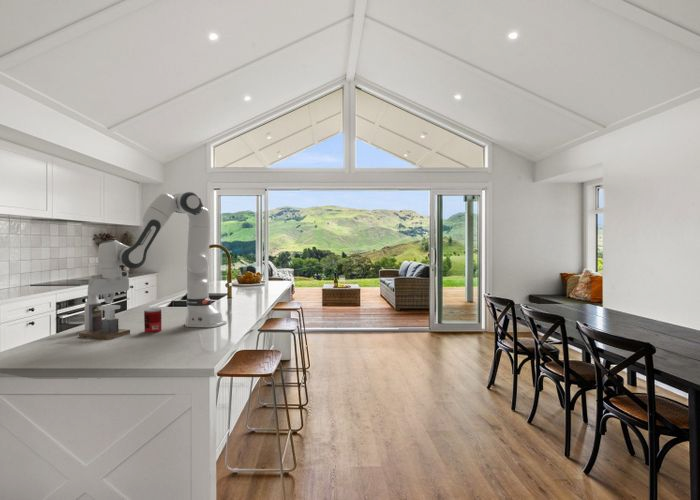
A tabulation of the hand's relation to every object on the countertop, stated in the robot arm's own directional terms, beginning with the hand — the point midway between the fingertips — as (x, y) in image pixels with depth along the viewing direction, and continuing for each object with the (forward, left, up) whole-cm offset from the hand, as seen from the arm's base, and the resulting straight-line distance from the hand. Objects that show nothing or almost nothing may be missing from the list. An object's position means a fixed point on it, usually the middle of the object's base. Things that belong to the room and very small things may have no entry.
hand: (109, 302), depth 205 cm
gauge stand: (+3, 0, -16) cm, 16 cm away
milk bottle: (+19, -7, -16) cm, 26 cm away
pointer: (+7, 0, -4) cm, 8 cm away
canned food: (-12, -15, -16) cm, 25 cm away
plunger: (+2, 0, -10) cm, 10 cm away
